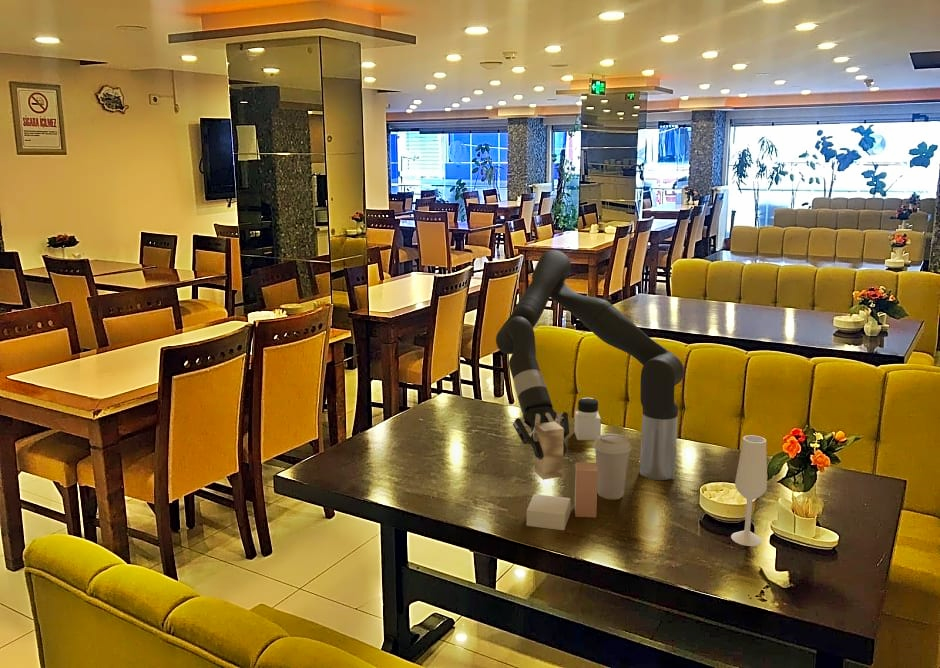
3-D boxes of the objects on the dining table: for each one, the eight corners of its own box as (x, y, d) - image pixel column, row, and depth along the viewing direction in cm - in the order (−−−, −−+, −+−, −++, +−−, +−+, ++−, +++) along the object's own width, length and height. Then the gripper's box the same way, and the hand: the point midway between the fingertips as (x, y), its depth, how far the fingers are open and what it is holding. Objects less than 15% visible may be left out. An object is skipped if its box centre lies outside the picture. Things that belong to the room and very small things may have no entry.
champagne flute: (745, 548, 169) (754, 446, 164) (724, 535, 175) (731, 436, 170) (768, 542, 172) (777, 441, 167) (747, 529, 178) (755, 431, 173)
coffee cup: (584, 490, 200) (586, 435, 196) (615, 483, 203) (617, 430, 200) (605, 504, 191) (607, 448, 188) (637, 498, 195) (639, 442, 191)
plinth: (570, 513, 187) (570, 498, 186) (564, 530, 178) (564, 514, 177) (533, 509, 189) (533, 494, 188) (526, 525, 181) (526, 510, 180)
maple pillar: (553, 468, 184) (554, 421, 182) (562, 476, 180) (563, 428, 177) (534, 471, 183) (535, 423, 180) (543, 479, 178) (544, 431, 175)
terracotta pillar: (594, 508, 189) (596, 462, 187) (596, 517, 185) (597, 471, 182) (574, 507, 190) (575, 462, 187) (575, 516, 185) (576, 470, 182)
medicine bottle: (600, 440, 234) (601, 403, 231) (577, 440, 234) (578, 403, 231) (597, 432, 241) (598, 395, 238) (574, 432, 241) (575, 395, 238)
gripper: (553, 396, 192) (574, 459, 184) (500, 402, 187) (519, 467, 179) (563, 382, 186) (585, 446, 178) (508, 388, 181) (528, 454, 173)
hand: (552, 456), depth 178 cm, fingers closed on maple pillar, 5 cm apart
